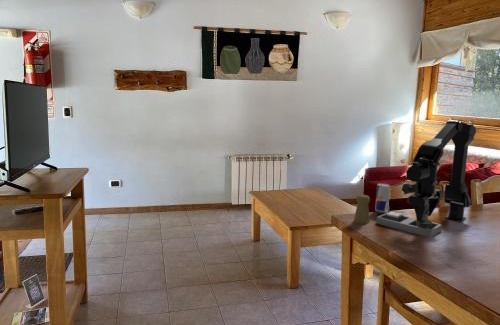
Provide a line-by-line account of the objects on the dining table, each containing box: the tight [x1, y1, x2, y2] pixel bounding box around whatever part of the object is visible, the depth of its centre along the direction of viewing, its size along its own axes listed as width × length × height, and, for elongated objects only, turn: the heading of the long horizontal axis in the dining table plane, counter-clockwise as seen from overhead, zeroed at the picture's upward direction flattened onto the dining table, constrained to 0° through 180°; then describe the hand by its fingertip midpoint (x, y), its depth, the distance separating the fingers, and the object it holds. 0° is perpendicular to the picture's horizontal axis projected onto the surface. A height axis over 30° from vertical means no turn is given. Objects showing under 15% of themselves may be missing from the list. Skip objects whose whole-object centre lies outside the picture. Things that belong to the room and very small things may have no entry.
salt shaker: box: [415, 203, 433, 229], centre depth 155 cm, size 6×6×12 cm
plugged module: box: [385, 211, 404, 222], centre depth 163 cm, size 5×5×4 cm
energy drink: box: [374, 183, 391, 214], centre depth 179 cm, size 5×5×12 cm
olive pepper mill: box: [353, 194, 371, 225], centre depth 165 cm, size 6×6×11 cm
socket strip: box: [375, 211, 443, 238], centre depth 160 cm, size 10×21×3 cm, turn 46°
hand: (423, 218), depth 155 cm, fingers open, 9 cm apart
